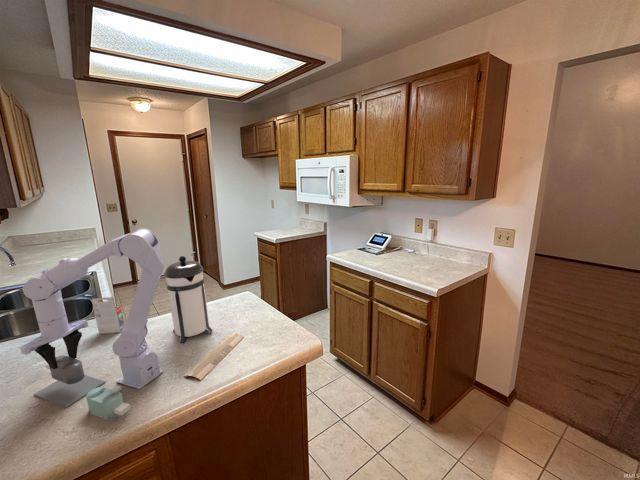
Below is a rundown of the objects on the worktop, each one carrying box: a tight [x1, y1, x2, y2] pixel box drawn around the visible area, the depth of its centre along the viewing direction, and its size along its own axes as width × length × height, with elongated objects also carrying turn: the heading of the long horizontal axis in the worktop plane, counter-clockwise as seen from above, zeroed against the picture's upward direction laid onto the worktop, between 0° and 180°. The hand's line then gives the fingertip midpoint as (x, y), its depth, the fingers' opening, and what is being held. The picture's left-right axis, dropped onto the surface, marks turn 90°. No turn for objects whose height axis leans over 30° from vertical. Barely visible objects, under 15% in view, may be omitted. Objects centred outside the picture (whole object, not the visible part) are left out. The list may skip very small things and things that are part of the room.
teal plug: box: [85, 386, 131, 421], centre depth 75 cm, size 12×4×4 cm, turn 70°
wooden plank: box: [183, 333, 245, 381], centre depth 97 cm, size 24×7×2 cm, turn 163°
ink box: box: [91, 296, 125, 335], centre depth 113 cm, size 4×8×15 cm, turn 96°
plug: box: [44, 355, 86, 384], centre depth 82 cm, size 12×4×4 cm, turn 70°
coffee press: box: [163, 255, 213, 344], centre depth 109 cm, size 17×16×30 cm
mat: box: [33, 374, 106, 409], centre depth 84 cm, size 14×10×1 cm
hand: (63, 362), depth 82 cm, fingers closed on plug, 4 cm apart
